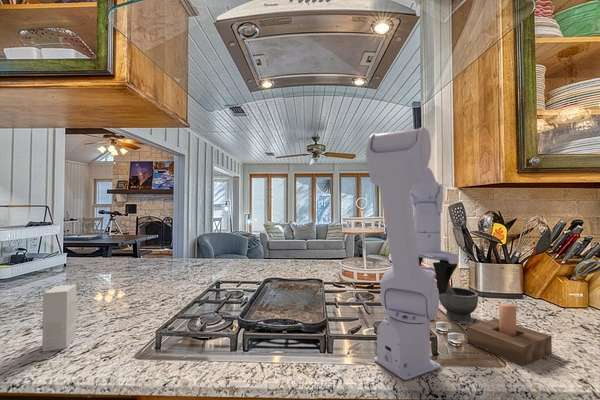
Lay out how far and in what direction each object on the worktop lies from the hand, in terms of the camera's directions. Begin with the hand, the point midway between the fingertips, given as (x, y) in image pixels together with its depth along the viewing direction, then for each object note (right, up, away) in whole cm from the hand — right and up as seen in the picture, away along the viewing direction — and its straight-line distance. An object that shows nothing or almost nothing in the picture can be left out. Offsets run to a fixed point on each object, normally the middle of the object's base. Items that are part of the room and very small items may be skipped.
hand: (427, 289), depth 72 cm
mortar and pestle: (+12, -11, +11) cm, 20 cm away
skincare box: (-82, -10, -7) cm, 83 cm away
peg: (+14, -10, -8) cm, 19 cm away
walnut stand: (+14, -10, -8) cm, 19 cm away
